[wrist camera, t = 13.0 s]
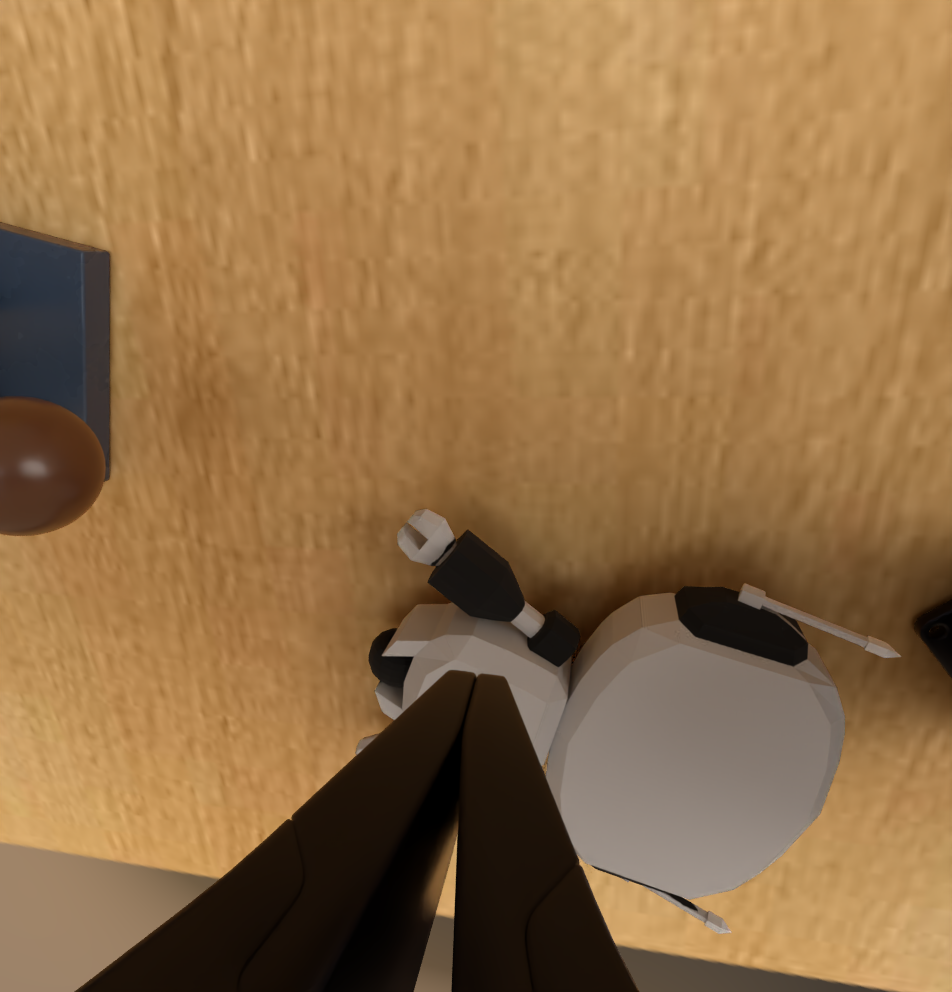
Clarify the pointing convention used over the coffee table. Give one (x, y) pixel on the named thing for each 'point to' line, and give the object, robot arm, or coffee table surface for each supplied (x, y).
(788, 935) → the coffee table surface
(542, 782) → the robot arm
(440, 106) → the coffee table surface
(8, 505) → the lever
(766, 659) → the robot toy
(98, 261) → the bracket
